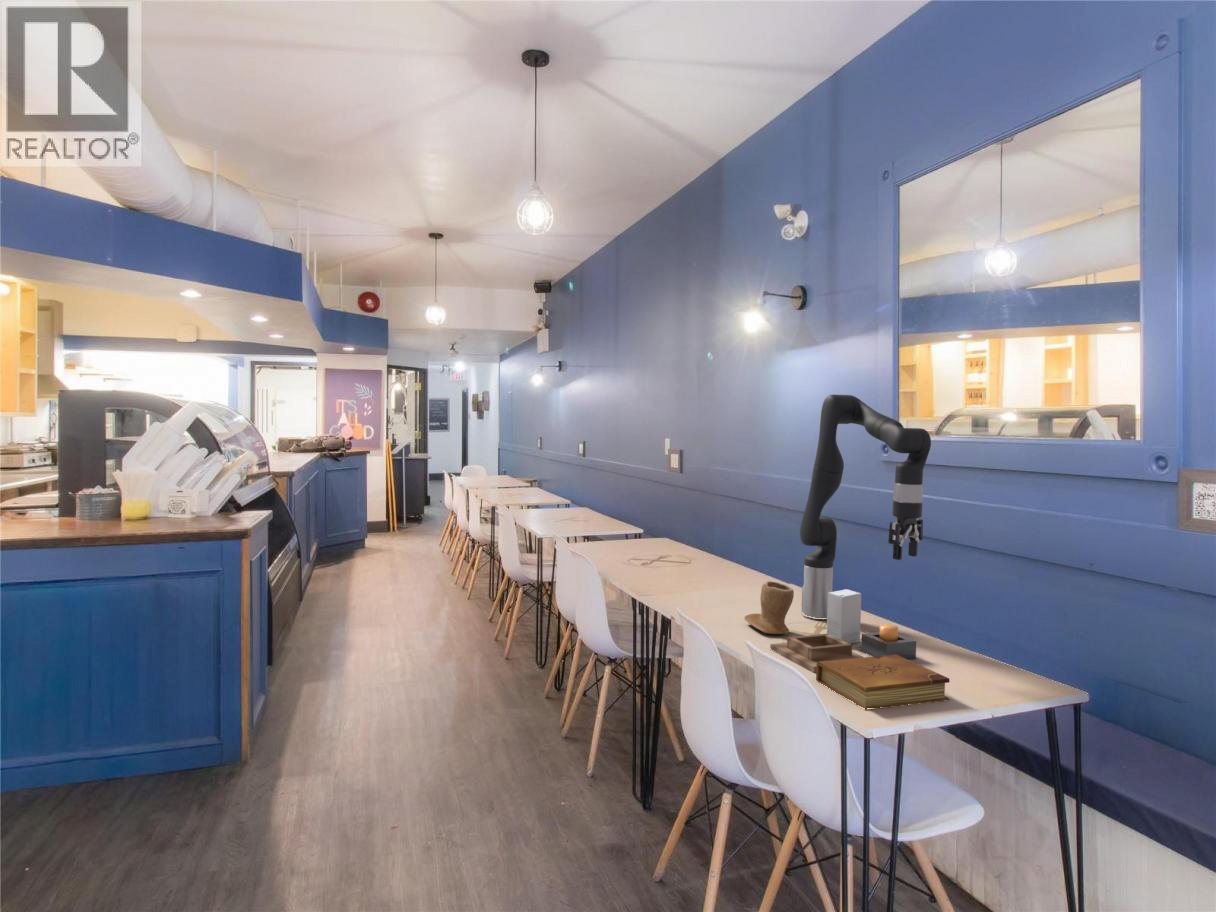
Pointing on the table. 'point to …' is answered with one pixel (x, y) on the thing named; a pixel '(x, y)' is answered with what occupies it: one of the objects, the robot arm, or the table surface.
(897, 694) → the diary
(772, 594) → the brown hat
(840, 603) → the skincare box
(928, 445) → the robot arm
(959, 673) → the table surface
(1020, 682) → the table surface
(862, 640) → the button housing
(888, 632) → the button
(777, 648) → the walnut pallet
